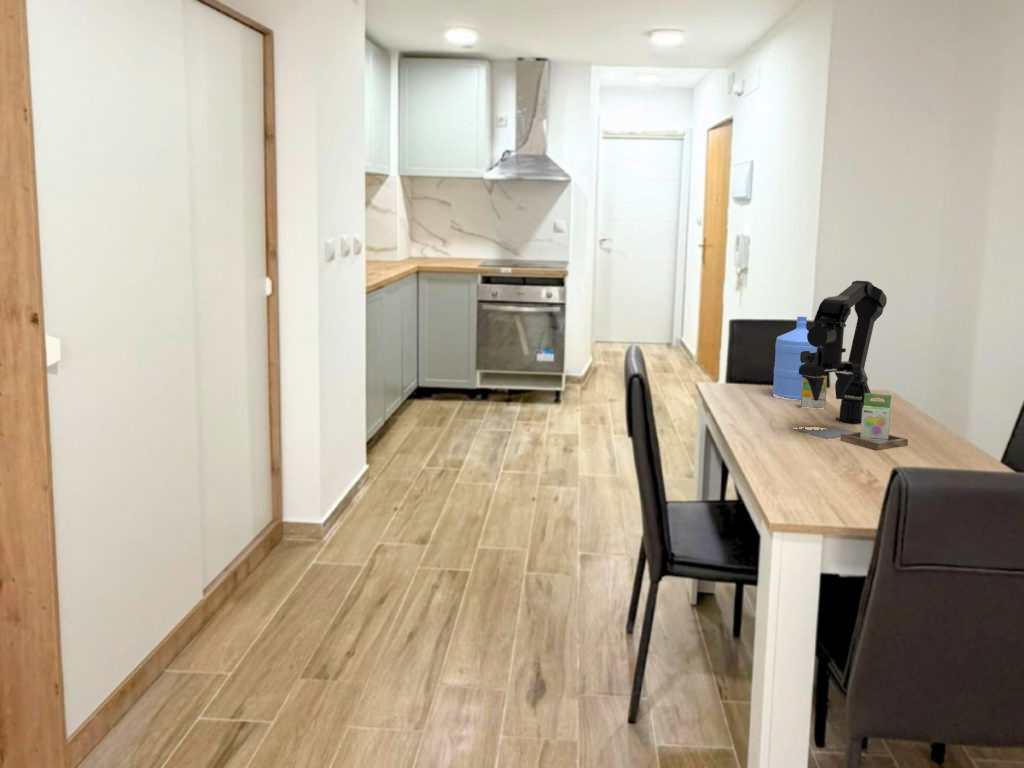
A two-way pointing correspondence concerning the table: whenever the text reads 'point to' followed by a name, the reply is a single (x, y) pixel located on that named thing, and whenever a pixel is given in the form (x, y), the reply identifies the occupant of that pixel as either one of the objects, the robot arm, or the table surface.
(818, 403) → the crayon box
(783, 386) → the water jug
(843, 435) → the holder
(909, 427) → the table surface
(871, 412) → the ink box
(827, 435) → the mat
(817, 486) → the table surface
